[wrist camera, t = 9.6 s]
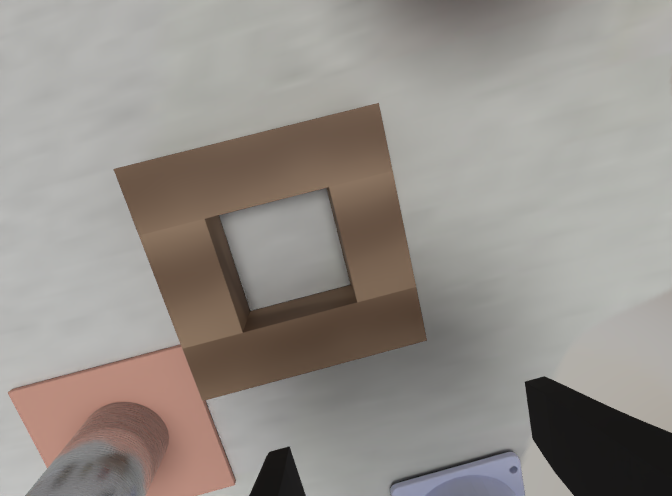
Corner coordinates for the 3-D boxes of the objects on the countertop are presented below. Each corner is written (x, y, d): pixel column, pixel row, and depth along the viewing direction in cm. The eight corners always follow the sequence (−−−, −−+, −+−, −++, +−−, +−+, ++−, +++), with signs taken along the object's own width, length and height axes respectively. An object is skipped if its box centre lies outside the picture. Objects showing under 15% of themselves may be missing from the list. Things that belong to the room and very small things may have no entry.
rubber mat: (235, 480, 22) (234, 484, 22) (82, 523, 22) (79, 528, 21) (183, 343, 20) (181, 346, 19) (11, 389, 19) (7, 392, 19)
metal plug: (176, 464, 21) (127, 586, 15) (95, 478, 21) (12, 608, 15) (158, 395, 20) (98, 497, 14) (72, 409, 20) (-28, 519, 14)
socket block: (412, 319, 20) (427, 340, 18) (214, 372, 20) (202, 400, 18) (368, 110, 18) (378, 102, 15) (139, 167, 18) (113, 169, 15)
